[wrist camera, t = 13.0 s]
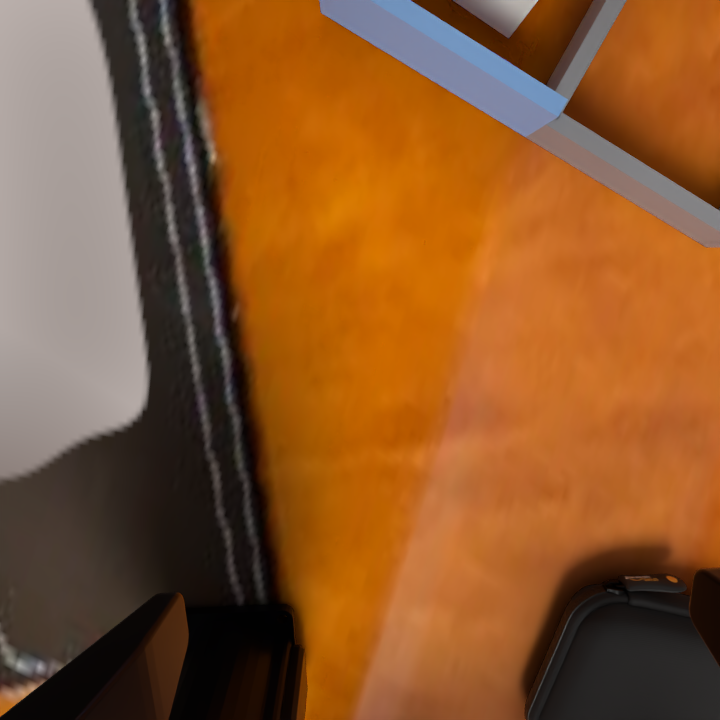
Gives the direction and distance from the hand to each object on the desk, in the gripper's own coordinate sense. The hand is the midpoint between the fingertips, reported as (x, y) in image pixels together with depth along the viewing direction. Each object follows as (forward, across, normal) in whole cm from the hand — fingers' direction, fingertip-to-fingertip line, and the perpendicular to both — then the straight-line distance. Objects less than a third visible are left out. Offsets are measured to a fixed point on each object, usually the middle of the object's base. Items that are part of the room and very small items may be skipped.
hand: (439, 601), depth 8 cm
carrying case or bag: (+14, -15, +16) cm, 25 cm away
